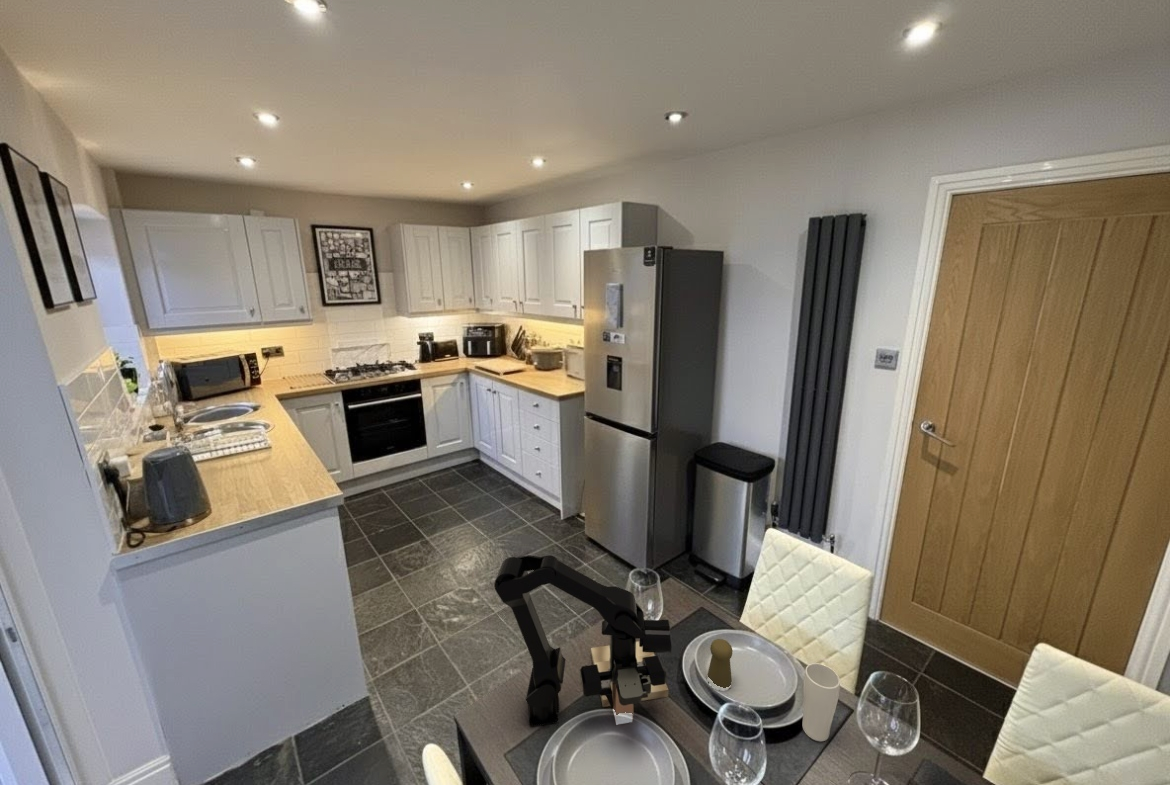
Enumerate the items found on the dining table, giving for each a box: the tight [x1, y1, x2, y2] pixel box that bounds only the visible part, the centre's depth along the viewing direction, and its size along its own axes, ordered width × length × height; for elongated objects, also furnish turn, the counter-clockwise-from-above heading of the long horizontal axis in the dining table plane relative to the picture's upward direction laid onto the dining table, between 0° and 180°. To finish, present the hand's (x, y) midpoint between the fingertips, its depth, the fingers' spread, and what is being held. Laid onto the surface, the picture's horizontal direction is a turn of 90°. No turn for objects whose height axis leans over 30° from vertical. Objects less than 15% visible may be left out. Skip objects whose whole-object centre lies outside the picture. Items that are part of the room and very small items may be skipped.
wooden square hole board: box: [590, 640, 669, 708], centre depth 117 cm, size 16×16×2 cm
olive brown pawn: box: [707, 638, 733, 688], centre depth 113 cm, size 6×6×11 cm
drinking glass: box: [802, 662, 841, 742], centre depth 100 cm, size 7×7×15 cm
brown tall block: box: [612, 683, 634, 715], centre depth 105 cm, size 4×4×10 cm
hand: (622, 705), depth 105 cm, fingers open, 5 cm apart
